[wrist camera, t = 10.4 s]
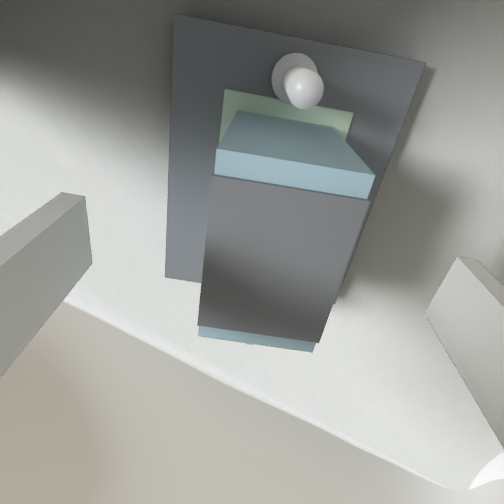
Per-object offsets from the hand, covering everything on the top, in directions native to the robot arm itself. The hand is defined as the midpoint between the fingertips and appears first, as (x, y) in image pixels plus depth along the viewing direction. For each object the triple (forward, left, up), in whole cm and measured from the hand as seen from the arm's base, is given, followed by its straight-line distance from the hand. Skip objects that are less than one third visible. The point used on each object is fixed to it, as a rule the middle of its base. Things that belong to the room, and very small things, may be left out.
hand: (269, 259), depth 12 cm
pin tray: (0, 0, -10) cm, 9 cm away
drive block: (0, 0, -8) cm, 8 cm away
